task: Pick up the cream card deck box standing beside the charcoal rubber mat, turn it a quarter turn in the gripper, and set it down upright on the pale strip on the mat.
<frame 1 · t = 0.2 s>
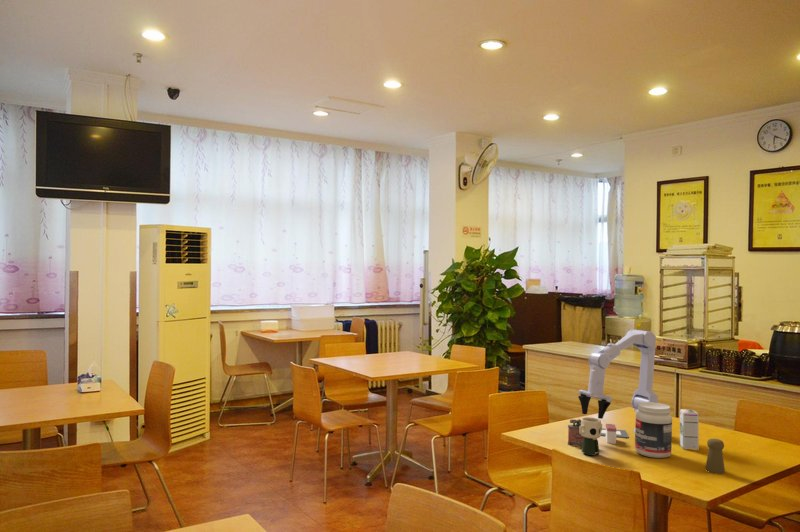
hand: (592, 416, 240), 10 cm above the table, tool pointing down, fingers open, 7 cm apart
grey pepper shaker: (715, 471, 207), on the table
mat: (608, 433, 253), on the table
syrup box: (688, 448, 234), on the table
lighter: (578, 445, 235), on the table
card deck: (610, 441, 241), on the table
character mug: (590, 454, 223), on the table
supplement tub: (652, 454, 225), on the table
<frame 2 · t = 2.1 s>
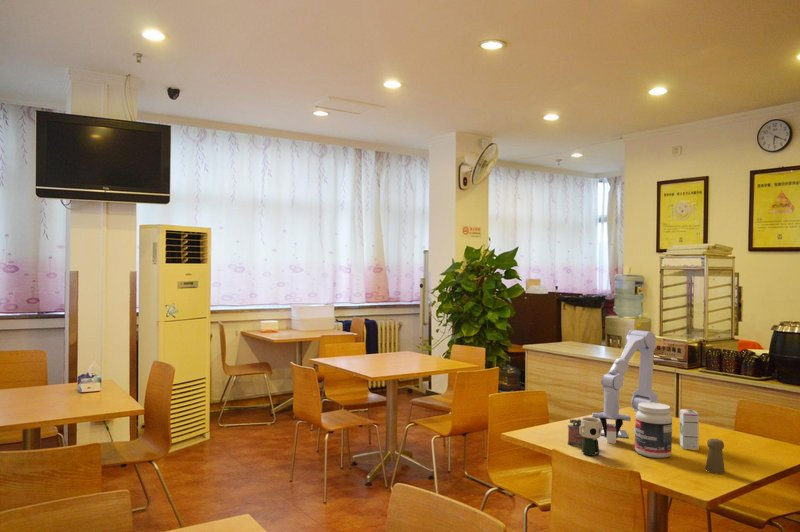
hand: (610, 437, 241), 1 cm above the table, tool pointing down, fingers closed on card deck, 3 cm apart
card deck: (610, 440, 241), on the table, touching gripper
everything else where it was.
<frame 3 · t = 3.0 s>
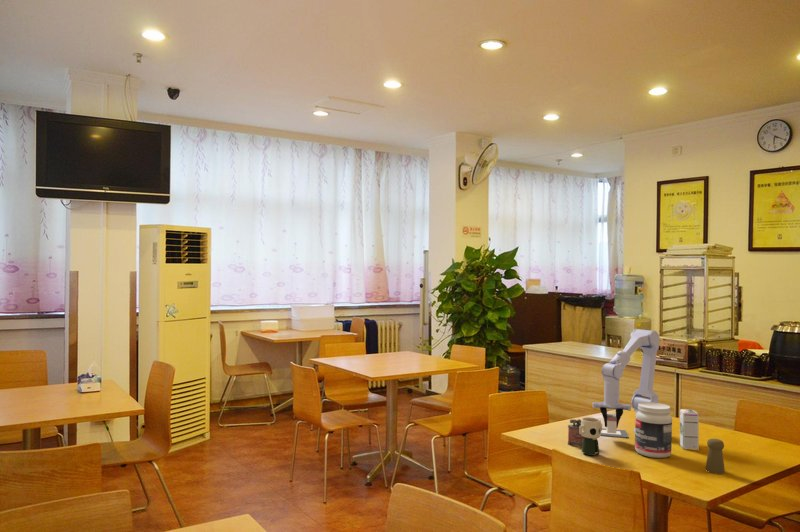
hand: (611, 426, 241), 6 cm above the table, tool pointing down, fingers closed on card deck, 3 cm apart
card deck: (611, 430, 241), point 4 cm above the table, touching gripper
everything else where it was.
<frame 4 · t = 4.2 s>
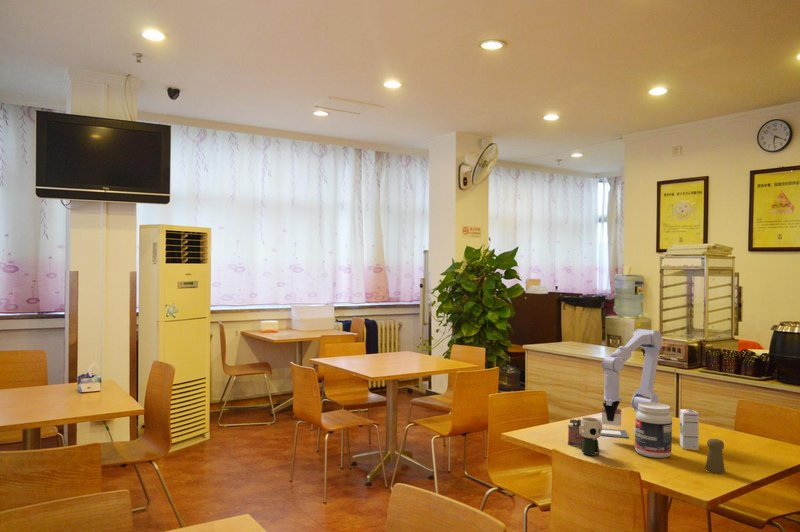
hand: (611, 419, 242), 8 cm above the table, tool pointing down, fingers closed on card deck, 3 cm apart
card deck: (611, 424, 242), point 7 cm above the table, touching gripper
everything else where it was.
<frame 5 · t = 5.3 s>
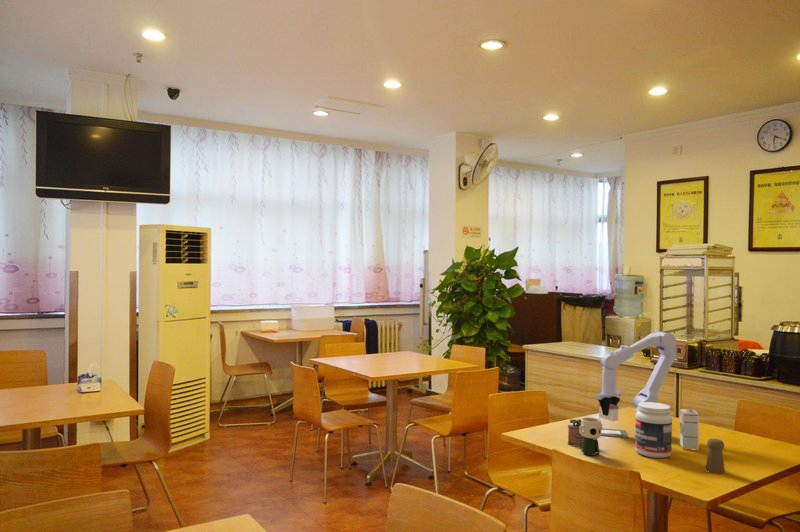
hand: (608, 414, 253), 8 cm above the table, tool pointing down, fingers closed on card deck, 3 cm apart
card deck: (608, 418, 253), point 6 cm above the table, touching gripper
everything else where it was.
when the fingers open (3 cm above the table, at t = 6.4 s): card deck stays where it is, resting on mat.
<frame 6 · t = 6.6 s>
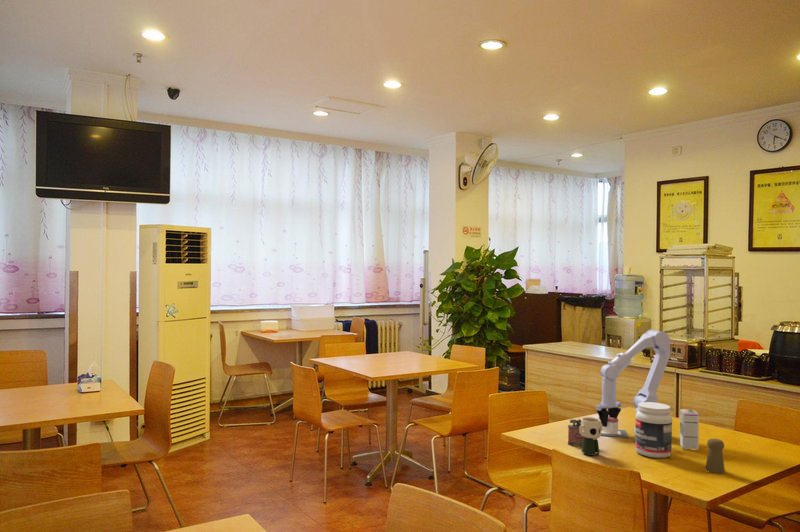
hand: (608, 425, 253), 3 cm above the table, tool pointing down, fingers open, 5 cm apart
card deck: (608, 431, 253), resting on mat
everything else where it was.
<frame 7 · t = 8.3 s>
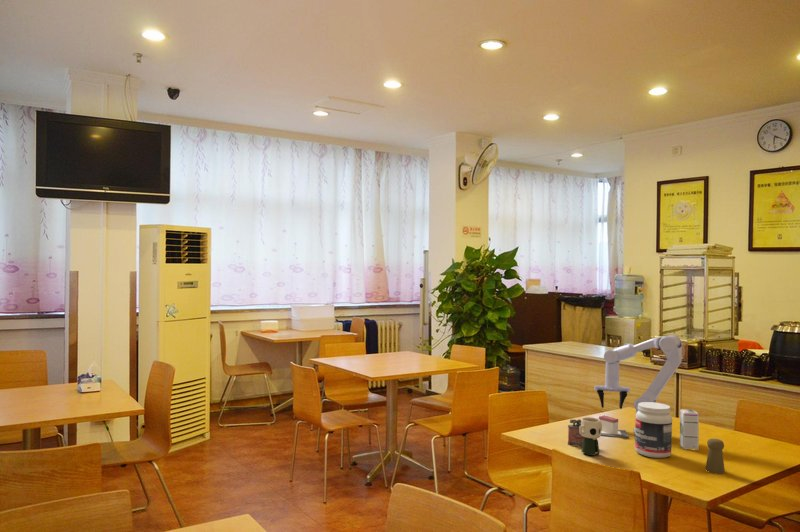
hand: (611, 407, 263), 8 cm above the table, tool pointing down, fingers open, 7 cm apart
nothing on the table moved.
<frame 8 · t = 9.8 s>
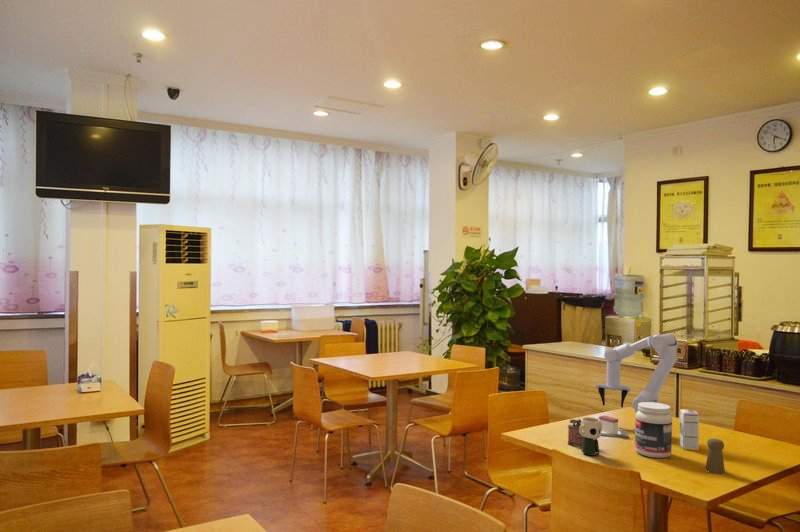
hand: (612, 406, 267), 8 cm above the table, tool pointing down, fingers open, 7 cm apart
nothing on the table moved.
at the end: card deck 0.0 cm off-centre on the mat, point 0.5 cm above the mat's base; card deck tilted 0°; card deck touching mat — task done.
